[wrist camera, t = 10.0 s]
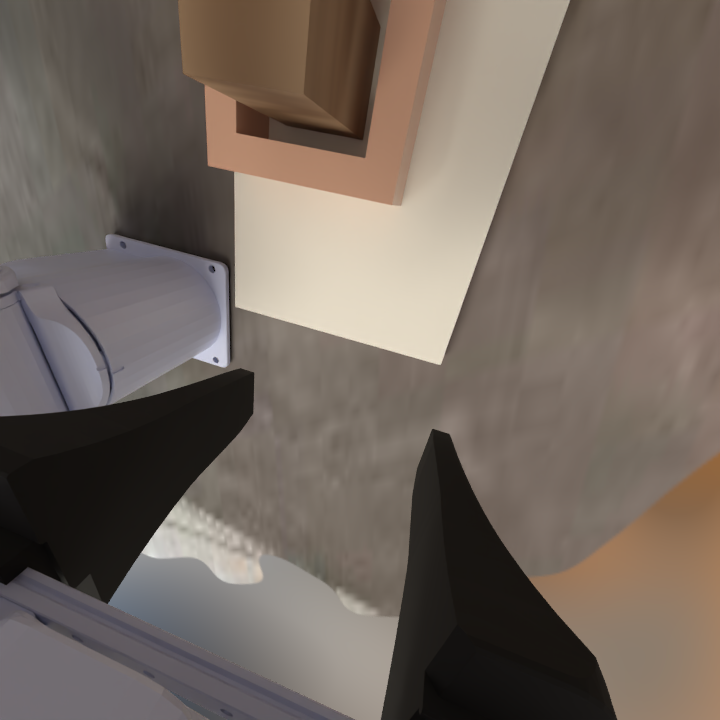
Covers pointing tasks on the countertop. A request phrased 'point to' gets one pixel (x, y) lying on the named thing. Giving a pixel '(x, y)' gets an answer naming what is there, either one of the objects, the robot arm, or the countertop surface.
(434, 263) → the cream board
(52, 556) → the robot arm
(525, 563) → the countertop surface
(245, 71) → the walnut block
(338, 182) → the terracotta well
